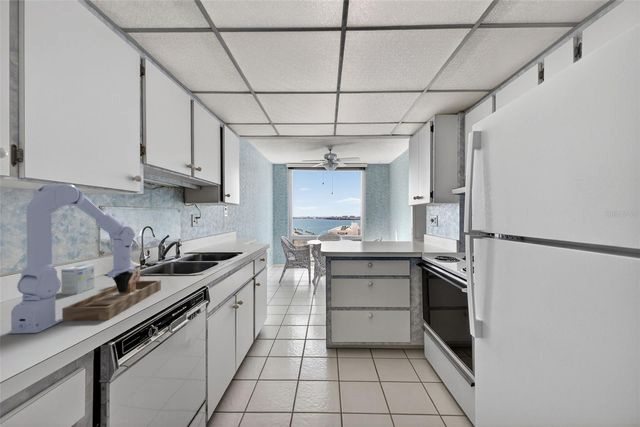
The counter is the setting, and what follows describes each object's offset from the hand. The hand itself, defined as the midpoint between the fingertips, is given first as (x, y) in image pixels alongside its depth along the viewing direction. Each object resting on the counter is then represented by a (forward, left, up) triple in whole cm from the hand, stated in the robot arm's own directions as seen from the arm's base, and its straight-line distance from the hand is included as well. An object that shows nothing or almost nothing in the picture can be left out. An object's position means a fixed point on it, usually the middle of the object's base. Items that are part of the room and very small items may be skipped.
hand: (122, 291), depth 112 cm
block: (+4, 0, -1) cm, 4 cm away
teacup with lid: (+28, +12, -4) cm, 31 cm away
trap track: (-2, 0, -4) cm, 4 cm away
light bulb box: (+16, +27, -4) cm, 32 cm away
